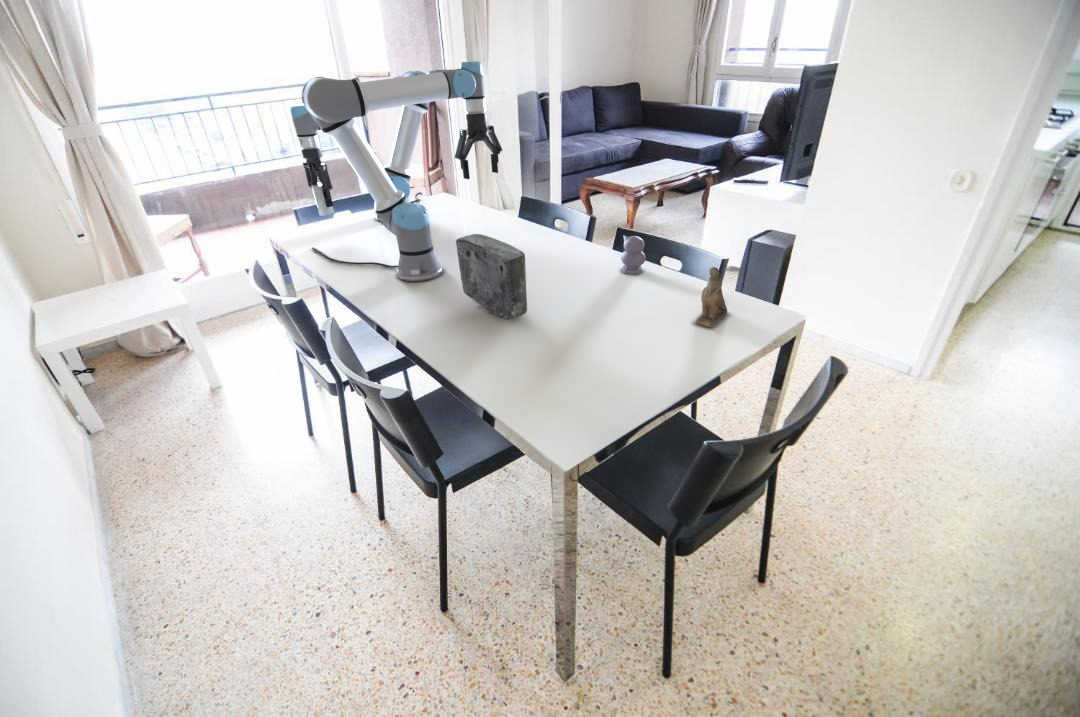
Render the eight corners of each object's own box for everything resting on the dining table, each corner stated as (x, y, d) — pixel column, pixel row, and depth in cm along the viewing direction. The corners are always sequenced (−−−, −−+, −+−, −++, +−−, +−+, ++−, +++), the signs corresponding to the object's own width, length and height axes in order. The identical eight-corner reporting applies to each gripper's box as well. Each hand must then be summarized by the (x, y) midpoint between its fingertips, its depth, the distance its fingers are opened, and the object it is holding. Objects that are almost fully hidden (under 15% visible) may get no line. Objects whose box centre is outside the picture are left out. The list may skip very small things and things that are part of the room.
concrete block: (534, 321, 142) (531, 253, 131) (508, 330, 137) (503, 261, 127) (486, 291, 160) (480, 231, 150) (462, 299, 156) (454, 237, 145)
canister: (321, 216, 210) (313, 186, 203) (317, 213, 214) (309, 184, 208) (336, 214, 213) (329, 184, 206) (332, 211, 217) (325, 181, 211)
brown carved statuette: (709, 335, 136) (713, 280, 124) (691, 329, 139) (693, 274, 128) (730, 313, 142) (736, 258, 130) (712, 307, 145) (716, 253, 133)
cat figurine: (649, 270, 171) (652, 236, 165) (636, 276, 167) (638, 242, 160) (628, 264, 176) (630, 231, 170) (615, 271, 172) (617, 237, 165)
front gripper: (495, 108, 184) (500, 168, 195) (439, 115, 170) (448, 180, 181) (509, 109, 179) (512, 171, 191) (452, 116, 165) (460, 182, 176)
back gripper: (288, 147, 202) (304, 204, 214) (315, 150, 192) (330, 210, 204) (305, 144, 207) (319, 200, 219) (332, 147, 197) (346, 206, 209)
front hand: (481, 175), depth 186 cm, fingers open, 13 cm apart
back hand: (325, 205), depth 211 cm, fingers closed on canister, 6 cm apart
